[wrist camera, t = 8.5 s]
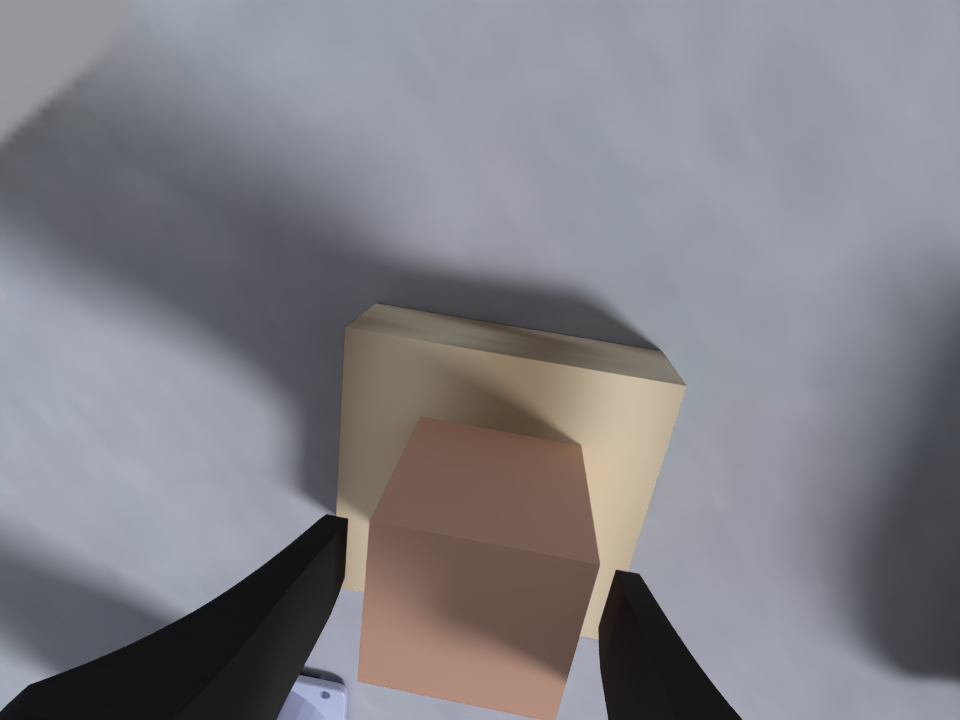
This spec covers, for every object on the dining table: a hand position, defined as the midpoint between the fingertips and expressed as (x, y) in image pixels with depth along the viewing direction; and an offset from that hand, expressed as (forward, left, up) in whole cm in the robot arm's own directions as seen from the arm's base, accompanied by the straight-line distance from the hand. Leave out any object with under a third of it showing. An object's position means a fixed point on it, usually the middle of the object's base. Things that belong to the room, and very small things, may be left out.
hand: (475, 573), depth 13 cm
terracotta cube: (0, 0, -3) cm, 3 cm away
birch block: (0, 0, -6) cm, 6 cm away
